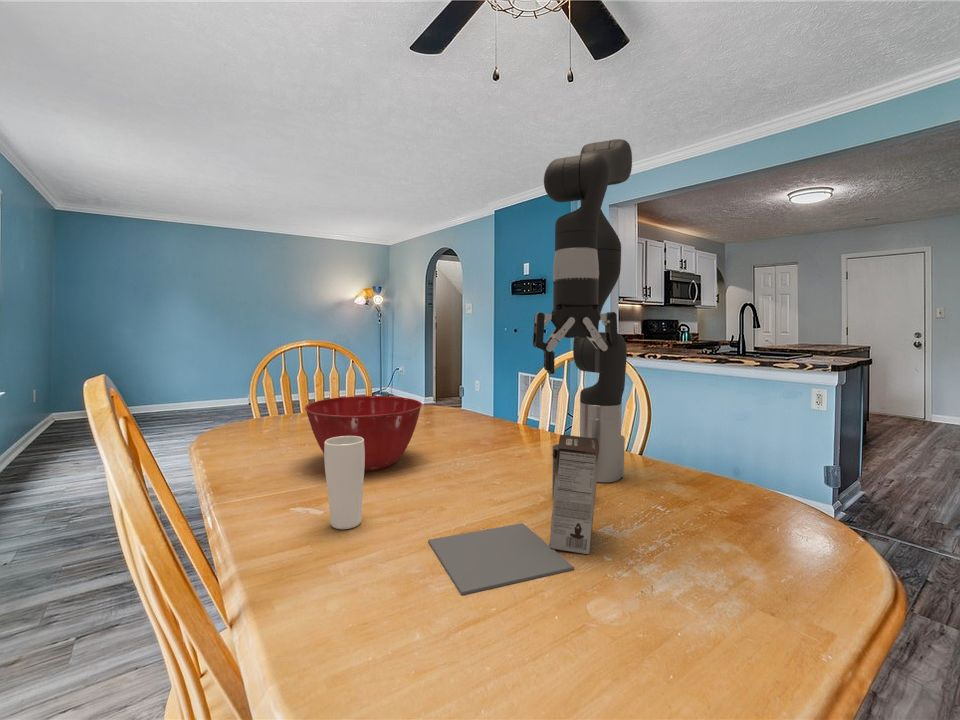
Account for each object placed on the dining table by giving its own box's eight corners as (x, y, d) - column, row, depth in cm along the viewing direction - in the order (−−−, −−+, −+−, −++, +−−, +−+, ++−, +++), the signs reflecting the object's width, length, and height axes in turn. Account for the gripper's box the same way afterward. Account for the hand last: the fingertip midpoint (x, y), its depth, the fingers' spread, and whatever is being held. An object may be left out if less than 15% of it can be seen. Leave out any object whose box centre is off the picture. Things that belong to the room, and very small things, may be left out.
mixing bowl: (445, 459, 122) (444, 400, 121) (363, 491, 98) (362, 418, 97) (368, 444, 137) (367, 392, 136) (281, 469, 113) (279, 406, 112)
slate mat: (522, 525, 81) (522, 523, 81) (574, 569, 66) (574, 566, 66) (428, 542, 75) (428, 539, 75) (461, 595, 60) (461, 592, 60)
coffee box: (551, 524, 80) (559, 433, 79) (589, 530, 79) (598, 437, 78) (548, 549, 71) (557, 446, 70) (591, 556, 70) (601, 452, 69)
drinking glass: (373, 519, 84) (372, 437, 83) (351, 535, 77) (349, 446, 76) (341, 514, 86) (339, 434, 85) (317, 529, 80) (315, 443, 78)
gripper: (607, 280, 83) (606, 370, 85) (529, 280, 82) (529, 371, 83) (625, 275, 76) (623, 374, 77) (539, 275, 74) (539, 376, 76)
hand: (574, 373), depth 80 cm, fingers open, 8 cm apart
